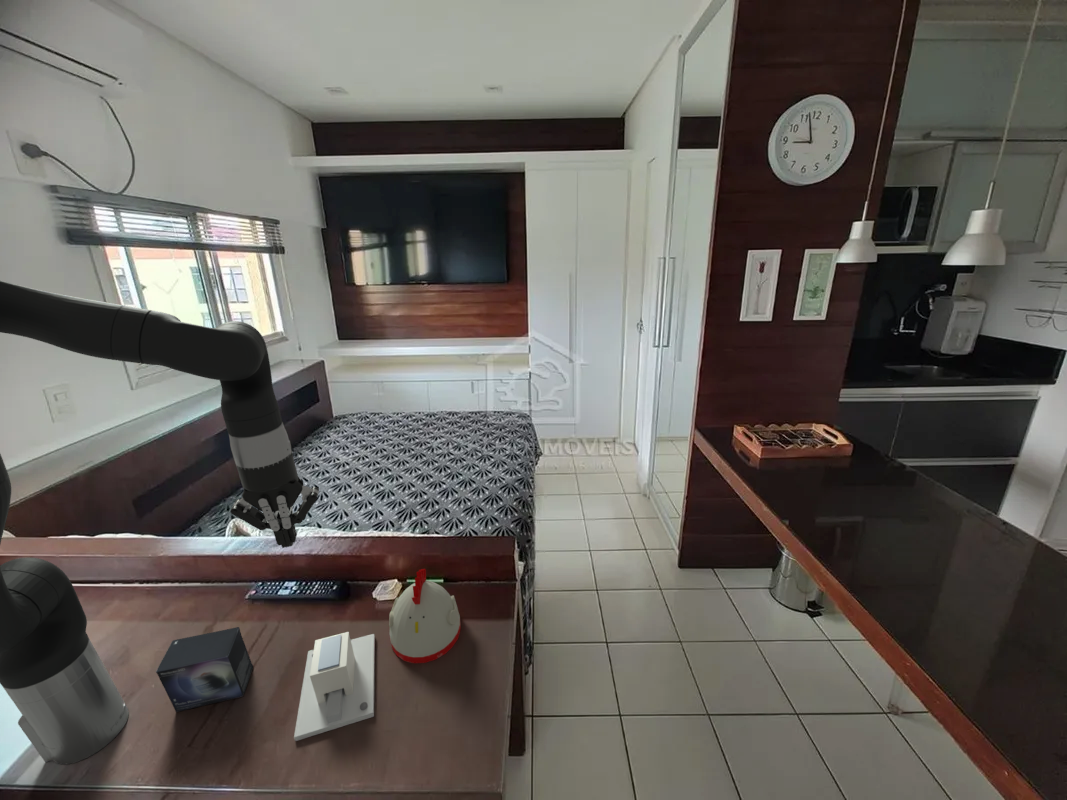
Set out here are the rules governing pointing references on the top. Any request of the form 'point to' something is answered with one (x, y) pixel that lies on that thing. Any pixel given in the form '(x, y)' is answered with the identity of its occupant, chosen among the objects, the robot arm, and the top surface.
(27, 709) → the robot arm
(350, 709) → the mounting plate
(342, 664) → the block
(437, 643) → the kitchen timer
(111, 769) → the top surface
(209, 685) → the small box
